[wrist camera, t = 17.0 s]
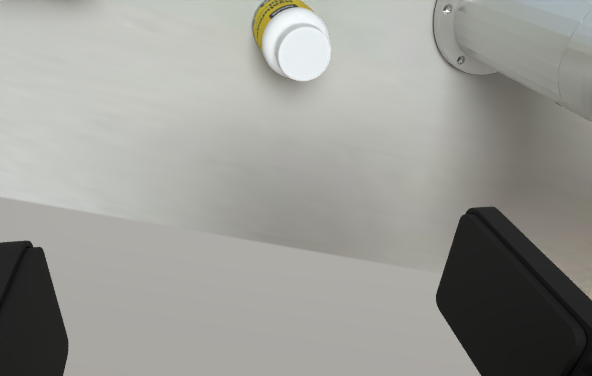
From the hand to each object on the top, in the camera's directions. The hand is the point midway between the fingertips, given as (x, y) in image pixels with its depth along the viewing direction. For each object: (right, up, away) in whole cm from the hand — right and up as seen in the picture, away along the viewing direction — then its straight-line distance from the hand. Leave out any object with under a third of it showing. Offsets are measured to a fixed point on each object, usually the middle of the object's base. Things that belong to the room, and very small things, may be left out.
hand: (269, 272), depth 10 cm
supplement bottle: (-1, +17, +31) cm, 35 cm away
